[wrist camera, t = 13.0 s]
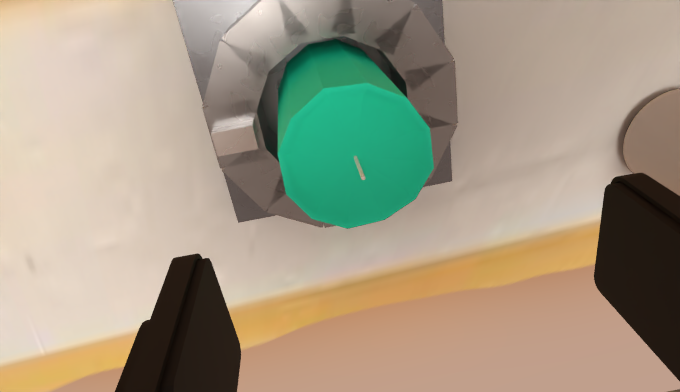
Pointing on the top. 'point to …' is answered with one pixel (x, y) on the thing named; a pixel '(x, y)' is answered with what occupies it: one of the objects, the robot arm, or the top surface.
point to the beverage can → (656, 141)
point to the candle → (348, 137)
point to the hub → (268, 67)
